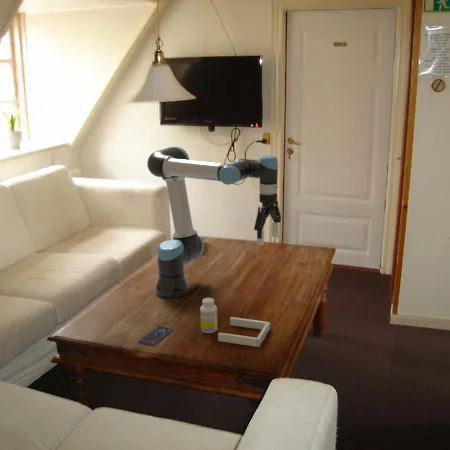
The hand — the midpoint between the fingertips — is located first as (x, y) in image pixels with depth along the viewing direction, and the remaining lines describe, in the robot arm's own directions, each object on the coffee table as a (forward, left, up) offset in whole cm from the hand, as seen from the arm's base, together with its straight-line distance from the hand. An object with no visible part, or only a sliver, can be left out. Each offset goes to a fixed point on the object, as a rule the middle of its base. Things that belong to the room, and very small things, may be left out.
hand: (267, 240), depth 251 cm
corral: (0, -37, -27) cm, 45 cm away
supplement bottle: (-14, -37, -27) cm, 48 cm away
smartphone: (-32, -48, -27) cm, 64 cm away
